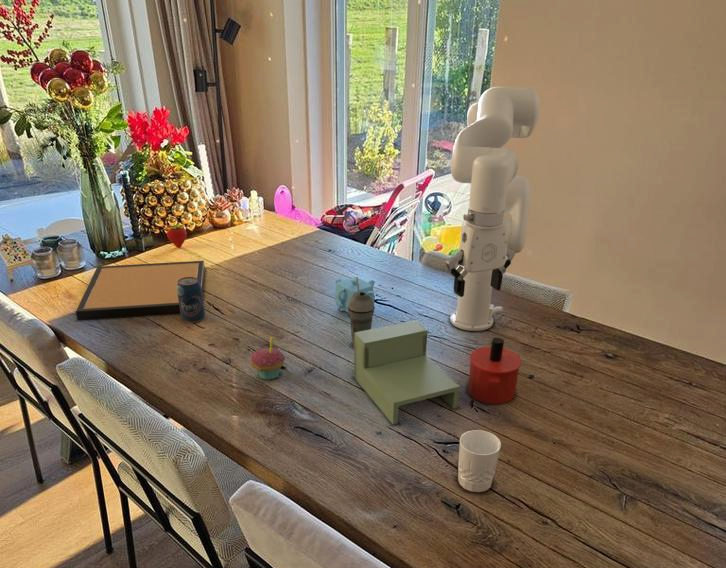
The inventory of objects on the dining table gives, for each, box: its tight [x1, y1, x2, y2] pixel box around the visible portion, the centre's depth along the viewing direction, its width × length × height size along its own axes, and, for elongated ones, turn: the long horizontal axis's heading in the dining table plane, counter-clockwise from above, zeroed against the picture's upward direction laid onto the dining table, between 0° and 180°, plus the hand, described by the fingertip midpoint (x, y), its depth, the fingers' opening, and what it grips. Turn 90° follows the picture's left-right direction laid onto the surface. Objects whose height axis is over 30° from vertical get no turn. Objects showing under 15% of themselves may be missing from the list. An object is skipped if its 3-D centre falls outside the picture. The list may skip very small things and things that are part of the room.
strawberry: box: [166, 222, 188, 249], centre depth 234 cm, size 6×8×10 cm
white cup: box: [457, 429, 502, 493], centre depth 124 cm, size 8×8×10 cm
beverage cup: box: [347, 276, 375, 348], centre depth 169 cm, size 7×7×20 cm
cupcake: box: [250, 334, 286, 380], centre depth 157 cm, size 9×8×12 cm
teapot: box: [334, 276, 376, 314], centre depth 190 cm, size 18×14×10 cm
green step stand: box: [353, 319, 460, 425], centre depth 151 cm, size 22×17×13 cm
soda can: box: [176, 277, 206, 324], centre depth 184 cm, size 7×7×12 cm
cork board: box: [75, 260, 206, 321], centre depth 202 cm, size 36×3×35 cm
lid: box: [468, 337, 522, 374], centre depth 149 cm, size 12×12×6 cm
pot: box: [467, 363, 520, 405], centre depth 153 cm, size 11×17×8 cm
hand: (477, 291), depth 143 cm, fingers open, 9 cm apart
